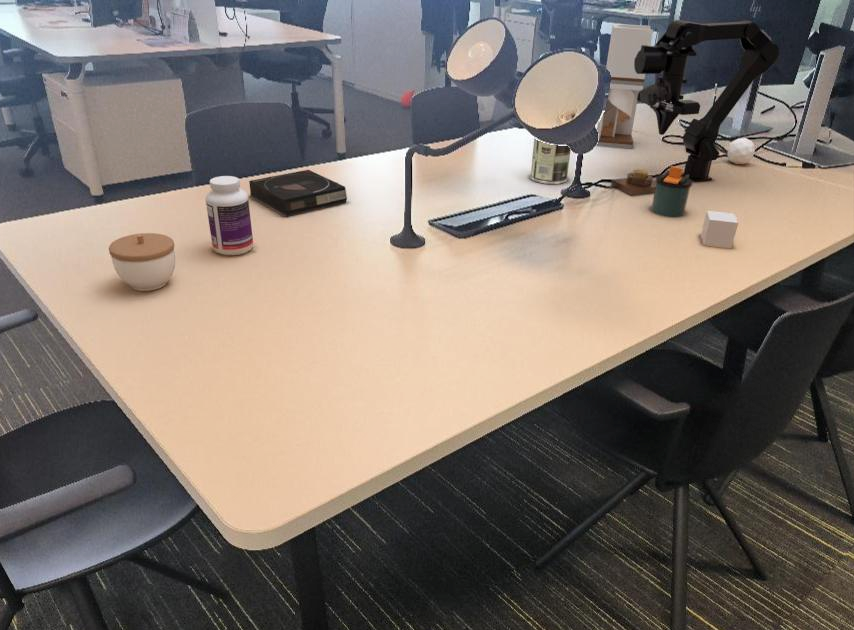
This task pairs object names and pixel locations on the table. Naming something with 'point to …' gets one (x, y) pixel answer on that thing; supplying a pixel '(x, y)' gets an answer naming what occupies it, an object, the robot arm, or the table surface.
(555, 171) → the coffee can
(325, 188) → the portable cd player
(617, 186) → the block
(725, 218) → the white cube
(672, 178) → the slider
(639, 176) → the call button
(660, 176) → the tumbler
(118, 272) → the trinket box
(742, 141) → the geometric ball
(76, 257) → the table surface
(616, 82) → the white pillar on base
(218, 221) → the pill bottle
